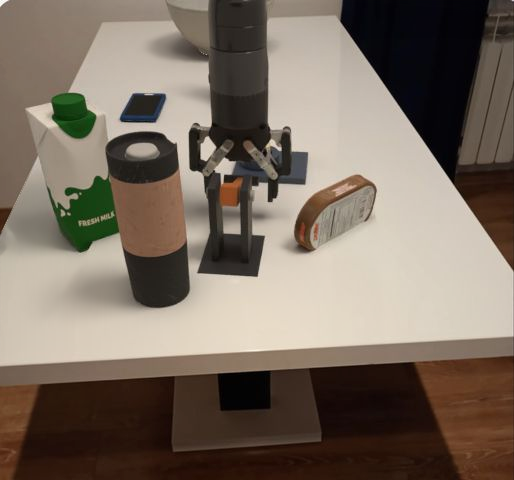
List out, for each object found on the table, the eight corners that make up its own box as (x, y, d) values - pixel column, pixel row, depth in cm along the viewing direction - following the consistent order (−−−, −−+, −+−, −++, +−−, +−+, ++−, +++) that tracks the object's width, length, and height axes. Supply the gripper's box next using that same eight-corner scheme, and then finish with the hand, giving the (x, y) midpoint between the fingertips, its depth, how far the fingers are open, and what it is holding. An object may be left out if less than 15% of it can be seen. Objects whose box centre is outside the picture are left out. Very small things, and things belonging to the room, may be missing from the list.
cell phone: (166, 96, 125) (166, 93, 125) (156, 121, 115) (155, 118, 115) (133, 96, 125) (132, 92, 125) (119, 121, 115) (118, 117, 115)
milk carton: (76, 257, 80) (39, 112, 67) (52, 229, 86) (13, 90, 72) (133, 237, 84) (109, 96, 71) (106, 212, 90) (79, 76, 76)
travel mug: (124, 313, 71) (93, 159, 58) (141, 277, 77) (116, 128, 63) (184, 318, 71) (167, 163, 57) (198, 281, 76) (185, 132, 63)
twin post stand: (210, 239, 84) (205, 162, 76) (265, 242, 83) (265, 164, 75) (197, 280, 77) (190, 199, 68) (257, 283, 76) (257, 202, 68)
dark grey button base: (232, 187, 95) (231, 164, 93) (240, 160, 103) (239, 138, 100) (304, 191, 94) (306, 168, 92) (307, 164, 102) (308, 141, 99)
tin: (359, 216, 88) (366, 164, 83) (375, 224, 87) (384, 171, 81) (290, 254, 81) (293, 200, 75) (307, 264, 79) (311, 209, 73)
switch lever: (224, 187, 84) (225, 170, 83) (258, 188, 84) (259, 171, 83) (208, 205, 72) (208, 185, 71) (248, 207, 72) (248, 187, 71)
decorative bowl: (283, 39, 157) (284, -13, 149) (259, 70, 138) (259, 13, 130) (190, 32, 162) (186, -18, 154) (154, 62, 143) (148, 6, 135)
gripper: (296, 74, 76) (291, 188, 87) (189, 71, 77) (198, 184, 88) (293, 95, 70) (288, 214, 81) (177, 91, 71) (188, 208, 82)
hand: (241, 198), depth 85 cm, fingers open, 8 cm apart
